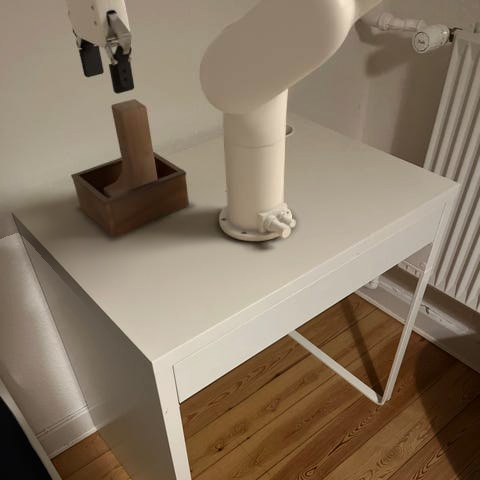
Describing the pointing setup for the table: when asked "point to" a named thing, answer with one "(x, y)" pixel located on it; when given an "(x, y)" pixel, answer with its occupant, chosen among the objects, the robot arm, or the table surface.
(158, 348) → the table surface
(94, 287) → the table surface
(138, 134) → the wooden block
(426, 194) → the table surface
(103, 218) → the wooden box
